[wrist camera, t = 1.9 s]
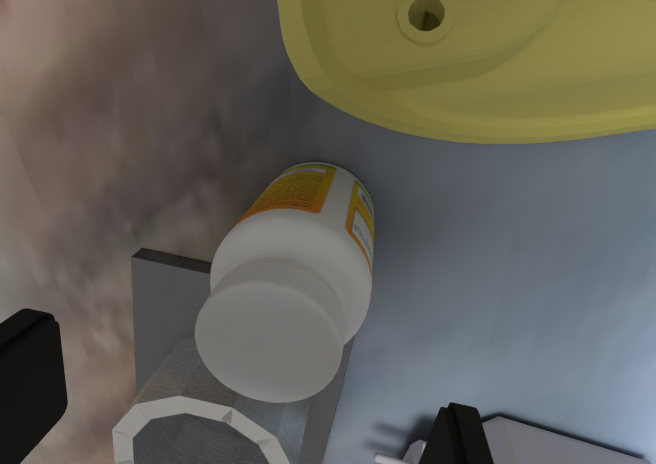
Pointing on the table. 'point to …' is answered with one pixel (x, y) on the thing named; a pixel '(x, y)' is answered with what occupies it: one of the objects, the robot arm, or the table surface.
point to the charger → (527, 447)
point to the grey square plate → (204, 386)
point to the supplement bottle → (290, 285)
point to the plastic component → (480, 65)
